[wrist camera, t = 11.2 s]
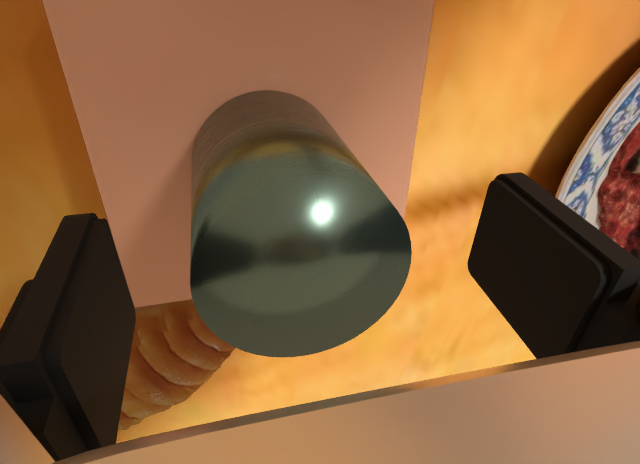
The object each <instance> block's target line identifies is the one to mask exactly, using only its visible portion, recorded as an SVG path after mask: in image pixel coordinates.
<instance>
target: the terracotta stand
mask: <svg viewBox="0 0 640 464" xmlns="http://www.w3.org/2000/svg"><path fill="white" fill-rule="evenodd" d="M434 1H435V0H42V2H43V5H44V9H45V12H46V15H47V19H48V22H49V25H50V29H51V32H52V35H53V39H54V42H55V45H56V49H57V52H58V56H59V59H60V62H61V66H62V69H63V72H64V76H65V79H66V82H67V86H68V89H69V92H70V96H71V99H72V102H73V106H74V109H75V112H76V116H77V119H78V122H79V126H80V129H81V132H82V136H83V139H84V142H85V146H86V149H87V152H88V156H89V159H90V162H91V166H92V169H93V172H94V176H95V179H96V182H97V186H98V189H99V192H100V196H101V199H102V202H103V206H104V209H105V212H106V216H107V219H108V222H109V226H110V229H111V232H112V236H113V239H114V242H115V246H116V249H117V252H118V256H119V259H120V262H121V266H122V269H123V272H124V275H125V278H126V282H127V285H128V288H129V291H130V294H131V297H132V301H133V304H134V307H135V308H136V307H142V306H149V305H156V304H163V303H170V302H177V301H184V300H190V299H192V296H191V288H190V251H191V184H192V152H193V147H194V142H195V140H196V137H197V134H198V132H199V130H200V128H201V127H202V125H203V123H204V122H205V121H206V119H207V118H208V117H209V116H210V115H211V114H212V113H213V112H214V111H215V110H216V109H217V108H218V107H220V106H221V105H222V104H223V103H225V102H227V101H229V100H230V99H232V98H234V97H237V96H239V95H242V94H245V93H249V92H253V91H261V90H275V91H281V92H286V93H289V94H293V95H295V96H298V97H300V98H302V99H304V100H305V101H307V102H309V103H310V104H312V105H313V106H314V107H315V108H316V109H317V110H319V112H320V113H321V114H322V115H323V116H324V117H325V118H326V120H327V121H328V122H329V124H330V125H331V126H332V127H333V129H334V130H335V131H336V132H337V134H338V135H339V136H340V138H341V139H342V140H343V141H344V143H345V144H346V145H347V147H348V148H349V149H350V150H351V152H352V153H353V154H354V155H355V157H356V158H357V159H358V161H359V162H360V163H361V164H362V166H363V167H364V168H365V170H366V171H367V172H368V173H369V175H370V176H371V177H372V178H373V180H374V181H375V182H376V184H377V185H378V186H379V187H380V189H381V190H382V191H383V193H384V194H385V195H386V196H387V198H388V199H389V200H390V201H391V203H392V204H393V205H394V207H395V208H396V209H397V210H398V212H399V214H400V215H401V217H402V218H403V220H404V217H405V210H406V203H407V196H408V189H409V181H410V174H411V167H412V160H413V153H414V145H415V138H416V131H417V124H418V117H419V109H420V102H421V95H422V88H423V81H424V73H425V66H426V59H427V52H428V45H429V37H430V30H431V23H432V16H433V9H434Z"/></svg>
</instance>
